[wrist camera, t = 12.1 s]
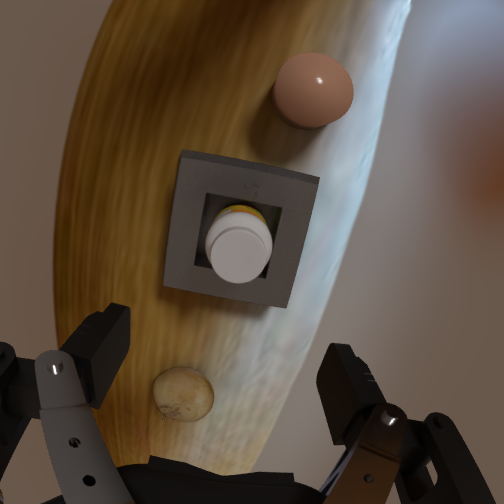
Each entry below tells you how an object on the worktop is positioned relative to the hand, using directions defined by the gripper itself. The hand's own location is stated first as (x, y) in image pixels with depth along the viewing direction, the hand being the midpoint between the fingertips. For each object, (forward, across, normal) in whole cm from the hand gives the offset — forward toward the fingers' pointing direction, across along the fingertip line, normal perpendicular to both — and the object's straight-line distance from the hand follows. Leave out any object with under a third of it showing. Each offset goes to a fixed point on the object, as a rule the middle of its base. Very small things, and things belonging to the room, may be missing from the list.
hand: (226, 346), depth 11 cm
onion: (+21, +3, +22) cm, 31 cm away
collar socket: (+21, 0, 0) cm, 21 cm away
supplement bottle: (+20, 0, 0) cm, 20 cm away
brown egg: (+21, -4, -15) cm, 26 cm away
